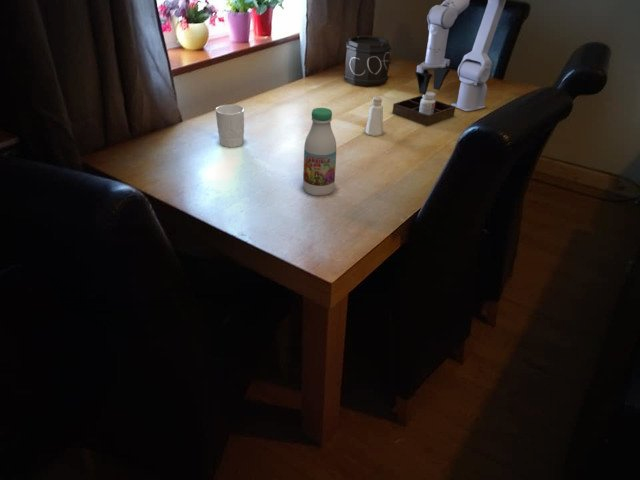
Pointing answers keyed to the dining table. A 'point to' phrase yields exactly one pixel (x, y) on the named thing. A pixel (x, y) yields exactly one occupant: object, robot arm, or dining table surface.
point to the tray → (411, 112)
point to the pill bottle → (427, 103)
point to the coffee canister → (367, 61)
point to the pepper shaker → (375, 118)
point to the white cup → (230, 125)
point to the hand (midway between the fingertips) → (429, 91)
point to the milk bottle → (320, 154)
